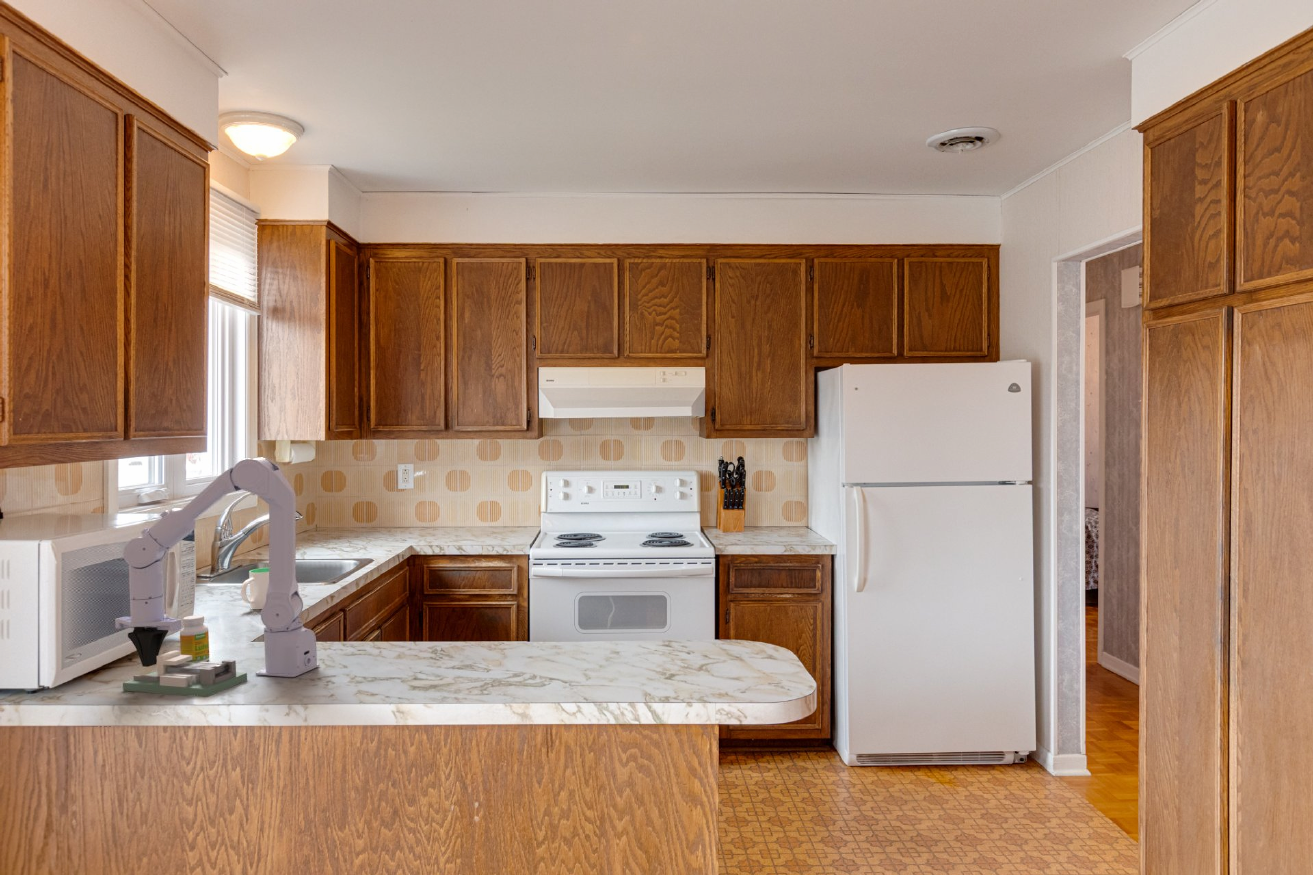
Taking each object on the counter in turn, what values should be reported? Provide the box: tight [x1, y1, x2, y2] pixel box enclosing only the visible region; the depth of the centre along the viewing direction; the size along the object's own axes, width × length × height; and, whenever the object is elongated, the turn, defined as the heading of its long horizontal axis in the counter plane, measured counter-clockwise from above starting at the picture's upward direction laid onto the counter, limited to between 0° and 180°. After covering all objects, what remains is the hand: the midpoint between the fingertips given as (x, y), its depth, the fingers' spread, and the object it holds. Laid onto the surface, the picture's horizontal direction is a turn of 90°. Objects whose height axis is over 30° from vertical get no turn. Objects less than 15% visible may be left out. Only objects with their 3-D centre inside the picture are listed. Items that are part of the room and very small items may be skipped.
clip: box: [156, 649, 192, 676], centre depth 162 cm, size 4×4×4 cm
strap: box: [166, 662, 229, 676], centre depth 160 cm, size 12×4×2 cm, turn 74°
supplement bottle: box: [179, 614, 210, 664], centre depth 178 cm, size 5×5×10 cm
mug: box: [240, 567, 269, 610], centre depth 231 cm, size 12×8×10 cm, turn 163°
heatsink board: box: [122, 659, 248, 698], centre depth 161 cm, size 20×10×4 cm, turn 74°
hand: (149, 665), depth 163 cm, fingers closed
